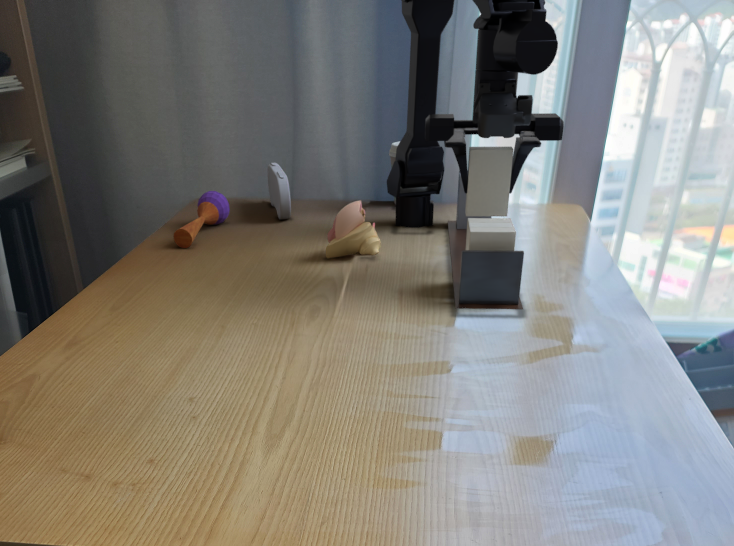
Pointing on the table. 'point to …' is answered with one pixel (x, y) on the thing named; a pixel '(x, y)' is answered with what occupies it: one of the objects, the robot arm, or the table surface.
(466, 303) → the book rack
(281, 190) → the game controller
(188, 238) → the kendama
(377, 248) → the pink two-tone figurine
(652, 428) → the table surface
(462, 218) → the grey books
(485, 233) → the cream books
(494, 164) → the ivory book
